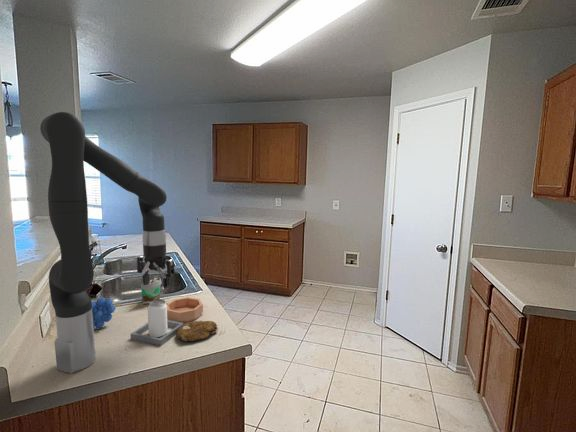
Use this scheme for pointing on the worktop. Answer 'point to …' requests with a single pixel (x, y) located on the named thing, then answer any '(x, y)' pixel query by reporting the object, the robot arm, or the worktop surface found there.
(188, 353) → the worktop surface
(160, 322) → the can
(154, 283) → the food container
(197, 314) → the bowl
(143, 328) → the tray
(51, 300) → the robot arm
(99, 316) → the grapes
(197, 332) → the decorative rock
